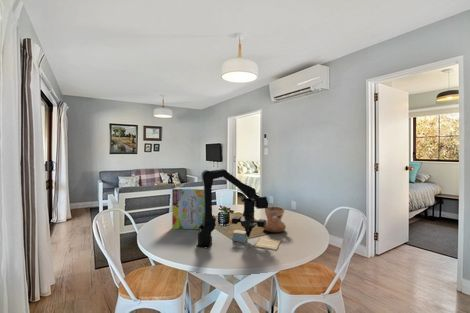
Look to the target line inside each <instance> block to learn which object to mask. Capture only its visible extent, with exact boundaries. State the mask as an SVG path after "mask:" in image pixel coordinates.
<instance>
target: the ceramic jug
mask: <svg viewBox="0 0 470 313" xmlns="http://www.w3.org/2000/svg"><path fill="white" fill-rule="evenodd" d="M264 212H265V216H266V218H267V219H265V220H266V226H265V227H262V228H263V229H264V230H265V231H266V232H269V233H275V234H276V233H281V232H284V231H285V230H286V226H287V225H286V224H285V223H284V222H283V221H282V218H283V216H284V214H285V208H283V207H279V206H274V205H273V206H268V208H265V209H264Z"/></svg>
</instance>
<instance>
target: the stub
mask: <svg viewBox="0 0 470 313" xmlns="http://www.w3.org/2000/svg"><path fill="white" fill-rule="evenodd" d="M247 240H248V237H247V234H246V231H245V230H241V229H240V230H239V229H235V230H233V232H232V241H233V242H239V243H246V242H247Z"/></svg>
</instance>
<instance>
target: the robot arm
mask: <svg viewBox="0 0 470 313" xmlns="http://www.w3.org/2000/svg"><path fill="white" fill-rule="evenodd" d="M200 174H201V175H200V176H201V182H202V185H203V188H204V217H203V222H202V225H201V226H200V227H199V228H198V229H197V230H198V233H197V244H196V245H195V246H196V247H199V248H206V249H208V248H209V247H210V246H211V245H213V236H212V232H214V230H215V228H216V226H217V224H216V221H217V220H216V218H217V217H216V216H215V215H214V214H213V204H212V203H213V198H212V197H213V195H212V193H213V190H212V187H213V184H214V180H216V179H219V178H224V179H225V180H227V181H228V182H230V183H231V184H232V185H233V186H234V187H236V188H238V190H239V191H240V192H241V193H242V194H243V197H242V198H240V201H241V202H243V212H242V216H236V215H235V216H234V217H232V219H231V224H233V225H237V224H238V223H240V226H241V227H243V228H244V231H246V234H247V238H250V237H251V234H252V231H253V229H254V228H256V226H257V228H263V227H265V226H266V220H267V219H262V218H261V219H260V218H259V219H257V220H255V212H256V211H255V208H256V209H257V210H259V209H261V210H262V209H264V210H265V208H268V207H269V202H268V198H267V196H266V195H264V196H259V195H258V194H257V192H256V189H255V188H254V187H252V186H250V185H248V184H246V183H243V182H242V181H241V180H239V179H238V178H237V177H235V176H234V175H232V174H231V173H230V172H228V171H227V170H226V169H224V168H221V169H216V170H210V169H205V170H203V171H202V172H201V173H200Z"/></svg>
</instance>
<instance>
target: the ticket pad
mask: <svg viewBox="0 0 470 313" xmlns="http://www.w3.org/2000/svg"><path fill="white" fill-rule="evenodd" d="M281 242H282V240H280V239H274V238H267V237H259V238H258V239H257V241H256V242H255V243H254V245H253V248H259V249H265V250H272V251H277V250H278V248H279V246H280V244H281Z"/></svg>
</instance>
